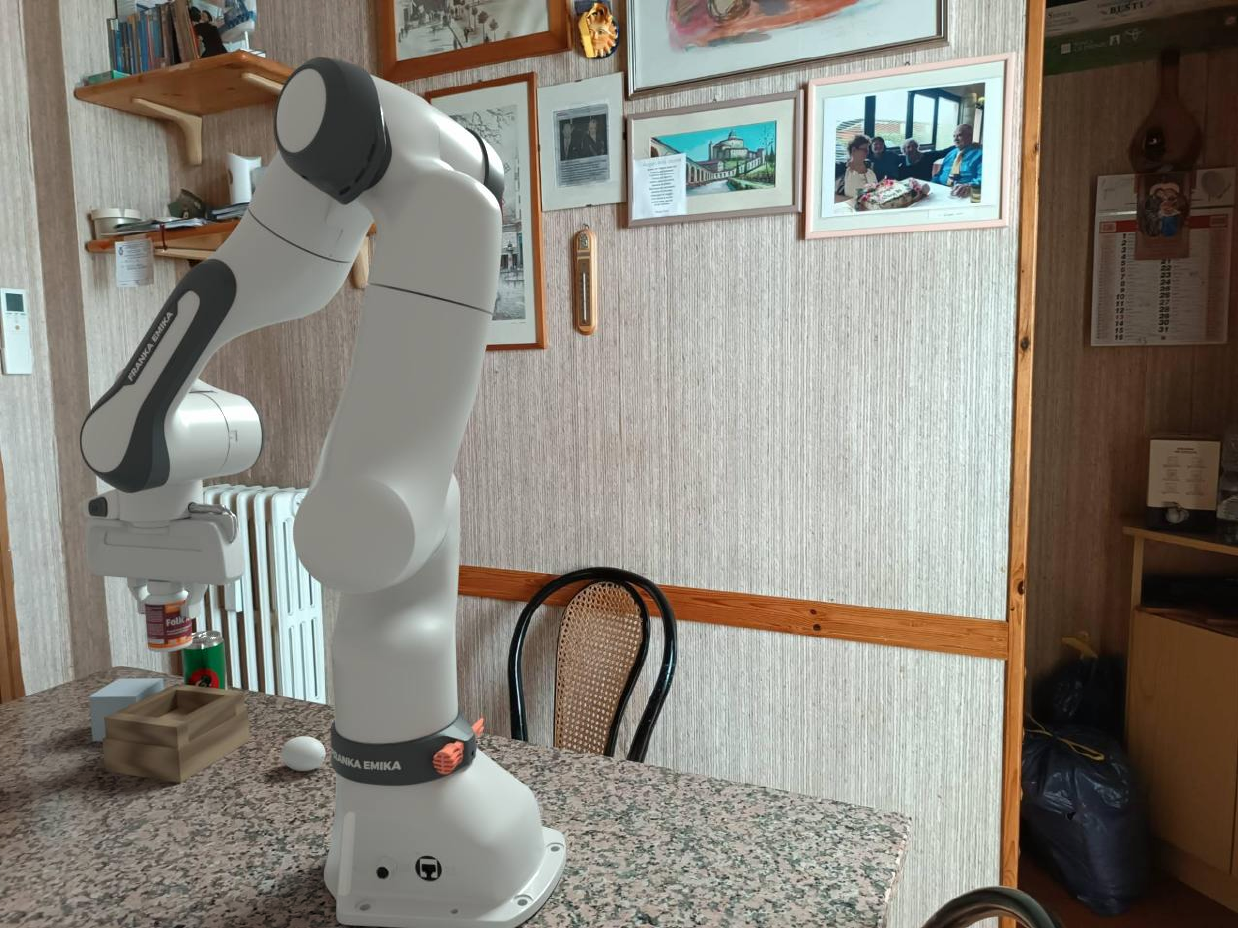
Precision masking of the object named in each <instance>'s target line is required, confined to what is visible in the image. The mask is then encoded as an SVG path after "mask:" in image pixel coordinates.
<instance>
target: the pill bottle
mask: <svg viewBox="0 0 1238 928" xmlns="http://www.w3.org/2000/svg"><path fill="white" fill-rule="evenodd" d="M147 590H148V591H147V592H148V593H150V594H149V595H148V596H147V597H146V598H145V614H144V615H145V626H146V627H145V629H146V641H147V643H146V644H147V649H148V651H151V652H154V653H168V652H175V651H179V650H182V649H183V648H186V647H188V646H190V645H191V643H192V634H193V628H192V624H193V623H192V619H186V618H181V617H180V616H179V613H180V611H179V604H181V603H185V600H186V598H187V595H188V592H189V591H185V590H184V582H172V581H160V580H147Z"/></svg>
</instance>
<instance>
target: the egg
mask: <svg viewBox="0 0 1238 928" xmlns="http://www.w3.org/2000/svg"><path fill="white" fill-rule="evenodd" d="M325 758H326V748H325V747H324V744H323V743H322V742H321V741H320V740H318V739H316V738H314V737H311V736H307V735H306V736H296V737H294V738H292V739H290V740H288V741H287V742H286V743H285V744H284V745H283V746H282V749H281V759H282V761H283V763H284V765H286V766H287V767H289V768H290V769H291V770H294V771H299V772H309V771H312V770H315V769H317V768H318V767H320V766H321V765H322V764H323V762H324V761H325Z"/></svg>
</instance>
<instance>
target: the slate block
mask: <svg viewBox="0 0 1238 928" xmlns="http://www.w3.org/2000/svg"><path fill="white" fill-rule="evenodd" d="M164 685H165V684H164V678H163V677H161V678H160V677H159V678H155V677H153V678H151V677H150V678H147V677H145V678H118V679H116V680H115V681H113V682H111V683H109V684H108V685H106V686H104V687H103V688H100V689H99V690H97V691H96V692H94V693H92V694H90V695H89V696H88V703H89V715H90V716H89V717H90V724H91V735H92V742H103V741H102V738H105V737H106V734H105V722H104V717H106V716H108V715H110V714H113V713H115V712H117V711H119V710H121V709H123V708H126V707H128V706H130V705H132V704H134V703H136V702H138V701H141V700H143V699H145V698H147V697H149V696H151V695H153V694H156V693H158V692H160V691H162V690H164V689H165V686H164Z"/></svg>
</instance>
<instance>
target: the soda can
mask: <svg viewBox="0 0 1238 928" xmlns="http://www.w3.org/2000/svg"><path fill="white" fill-rule="evenodd" d="M221 634H222V633H221V632H220V631H218V630H203V631H197V632H194V633H193V632H192V643H191V645H190V646H188V647H186V648H183V649H181V662H182V675H183V685H190V686H199V687H207V688H216V689H225V690H229V689H228V687H229V686H228V675H227V674H228V673H227V662H226V658H227V657H226V645H225V639H224V638H223V637H222V636H221Z"/></svg>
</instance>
